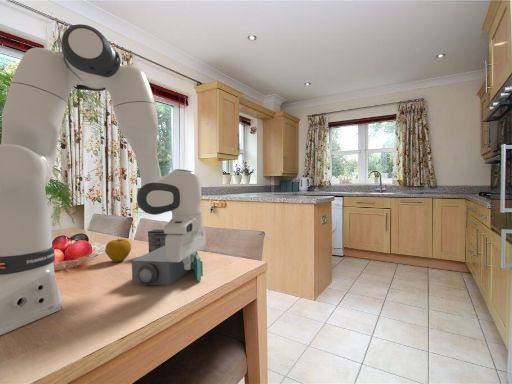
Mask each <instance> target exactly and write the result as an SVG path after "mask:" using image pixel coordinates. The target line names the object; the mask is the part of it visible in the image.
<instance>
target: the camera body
mask: <svg viewBox="0 0 512 384" xmlns="http://www.w3.org/2000/svg"><path fill="white" fill-rule="evenodd" d="M192 269H193V267H192V268H191V269H190V270H185V269H184V263H183V261H180V262H168V260H167V258H166V249H165V246H163V247H161V248H158V249H156V250H154V251H152V252H150V253H149V252H148V253H144V254H142V255H141V256H139V257H136V258H135V259H132V260H131V276H132V277H131V278H132V280H131V281H132V284H133V285H145V286H150V285H152V286H168V287H169V286H171V285H173V284H174V283H175V282H176V281H178V280H179V279H180V278H182V277H183V276H184V275H186V274H187V273H188V272H190V271H191V270H192Z"/></svg>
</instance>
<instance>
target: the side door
mask: <svg viewBox="0 0 512 384" xmlns="http://www.w3.org/2000/svg"><path fill="white" fill-rule="evenodd" d="M192 269H193V272H194V274H195V277H196V280H197V281H198V282H199V281H202V277H204V274H203V272H204V271H203V260H201V257H200V255H199V253H198V251H196V252H195V259H194V267H193V268H192Z"/></svg>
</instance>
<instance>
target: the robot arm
mask: <svg viewBox="0 0 512 384" xmlns="http://www.w3.org/2000/svg"><path fill="white" fill-rule="evenodd" d="M60 43H61V51H54V50H51V49H49V48H44V47H32V48H30V49H27V50H26V52H25V53H24V54H23V56H22V57H21V59H20V61H19V63H18V65H17V67H16V69H15V71H14V74H13V76H12V79H11V81H10V82H11V83H10V85H9V89H8V93H7V96H6V99H5V103H4V106H3V109H2V113H1V124H2V125H1V139H0V140H1V141H0V336H2V335H5V334H7V333H10V332H11V331H14V330H16V329H19V328H21V327H23V326H26V325H28V324H30V323H33V322H35V321H37V320H39V319H42V318H45V317H47V316H49V315H51V314H53V313H55V312H58V311H60V310H62V302H63V301H64V299H63V297H62V294H61V292H60V288H59V285H58V282H57V277H56V274H55V273H56V272H55V267H54V262H55V261H56V260H55V259H56V257H55V248H54V246H53V243H52V242H53V239H52V222H51V213H50V209H49V204H48V199H47V191H46V186H47V185H48V184H49V182H50V181H51V178H52V175H53V171H54V166H55V161H56V155H57V151H58V150H57V149H58V143H59V138H60V132H61V129H62V124H63V121H64V117H65V113H66V111H67V110H66V109H67V106H68V101H69V98H70V95H71V91H72V90H73V88H74V89H75V90H81V91H82V90H83V91H90V92H104V91H107V93H109V97H110V99H111V103H112V108H113V112H114V116H115V119H116V122H117V125H118V127H119V129H120V131H121V133H122V136H123V137H124V138H125V140H126V141H127V143H128V145H129V146H130V148H131V150H132V151H133V154H134V156H135V159H136V163H137V167H138V171H139V176H140V181H141V184H140V185H141V187H140V188H139V190H138V191H137V194H136V202H137V205H138V207H139V208H140V209H141V210H142V211H143V212H144V213H146V214H148V215H153V216H158V215H162V214H164V213H169V212H171V219H170V220H169V221H168V222H167V224H166V225H164V227H163V229H164V233H165V234H167V236H166V238H165V249H166V258H167V260H168V262H180V261H183V263H184V269H185V270H190V269H191V268H192V267H194V259H195V252H196V251H197V252H198V251H199V250H201V249H203V248H204V247H205V246H206V243H207V239H206V230H205V226H204V225H203V210H202V207H201V204H202V203H201V202H202V185H201V180H200V177H199V175H198V174H197V173H196V172H194V171H192V170H188V169H179V168H177V169H176V168H175V169H173V170H172V171H170V173H168V174H166V175H164V176H162V172H161V171H162V170H161V168H160V164H159V163H160V162H159V158H158V153H157V143H158V142H157V141H158V134H159V120H158V110H157V106H156V105H157V104H156V102H155V97H154V94H153V91H152V88H151V85H150V82H149V80H148V78H147V76H146V74H145V72H143V70H141V69H140V68H139V67H137V66H134V65H129V64H128V65H127V64H122V63H121V62H122V58H121V55H120V54H119V53H118V52H117V51H116V50H115V48H114V47H113V45H112V44H111V43H110V42H109V40H108V39H107V38H106V37H105V36H104V35H103V33H101V32H100V31H99V30H98V29H96V28H95V27H92V26H90V25H87V24H74V25H71V26H69V27H67V28H66V29H65V31H64V32H63V34H62V37H61V41H60ZM192 269H193V268H192ZM192 269H191V270H192ZM191 270H190V271H191Z"/></svg>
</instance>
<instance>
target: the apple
mask: <svg viewBox="0 0 512 384" xmlns="http://www.w3.org/2000/svg"><path fill="white" fill-rule="evenodd" d="M131 249H132V245H131V243H130V241H129V240H128V239H126V238H118V239H113V240H110V241H109V242H107V244H106V246H105V249H104V251H105V253H106V255H107V257H108V258H109V259H110V260H111V261H112V262H115V263H117V262H118V263H119V262H123V261H125V259H127V257H128V256H129V254H130V252H131Z"/></svg>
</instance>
